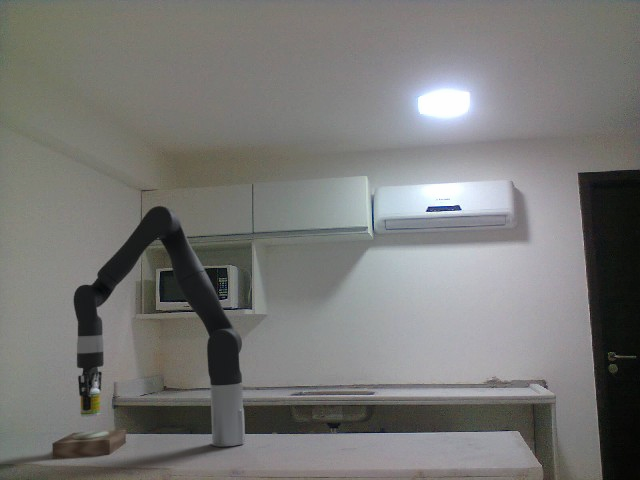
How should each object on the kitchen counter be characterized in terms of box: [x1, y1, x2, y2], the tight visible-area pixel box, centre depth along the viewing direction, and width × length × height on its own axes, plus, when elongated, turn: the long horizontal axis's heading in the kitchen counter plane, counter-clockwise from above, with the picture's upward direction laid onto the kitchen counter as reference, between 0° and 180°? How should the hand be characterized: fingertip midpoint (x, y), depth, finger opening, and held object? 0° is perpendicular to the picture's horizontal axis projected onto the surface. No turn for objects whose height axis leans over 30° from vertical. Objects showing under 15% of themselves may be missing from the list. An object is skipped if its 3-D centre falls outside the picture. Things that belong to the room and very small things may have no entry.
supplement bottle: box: [80, 382, 101, 418], centre depth 182 cm, size 5×5×10 cm
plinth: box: [51, 429, 127, 459], centre depth 180 cm, size 16×16×4 cm
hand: (90, 408), depth 181 cm, fingers closed on supplement bottle, 5 cm apart
